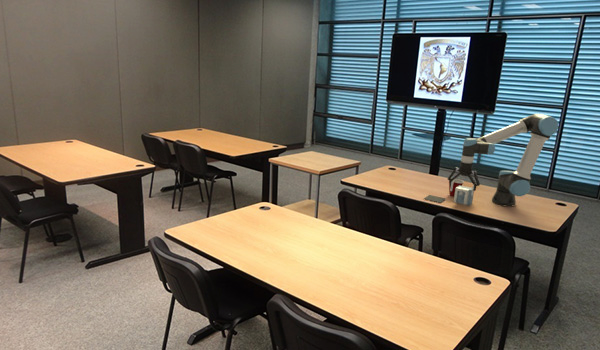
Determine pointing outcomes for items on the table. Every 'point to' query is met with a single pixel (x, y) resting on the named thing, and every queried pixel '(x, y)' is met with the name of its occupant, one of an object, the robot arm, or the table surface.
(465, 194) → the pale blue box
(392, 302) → the table surface
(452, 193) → the plastic cup
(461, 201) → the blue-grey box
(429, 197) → the rubber mat
